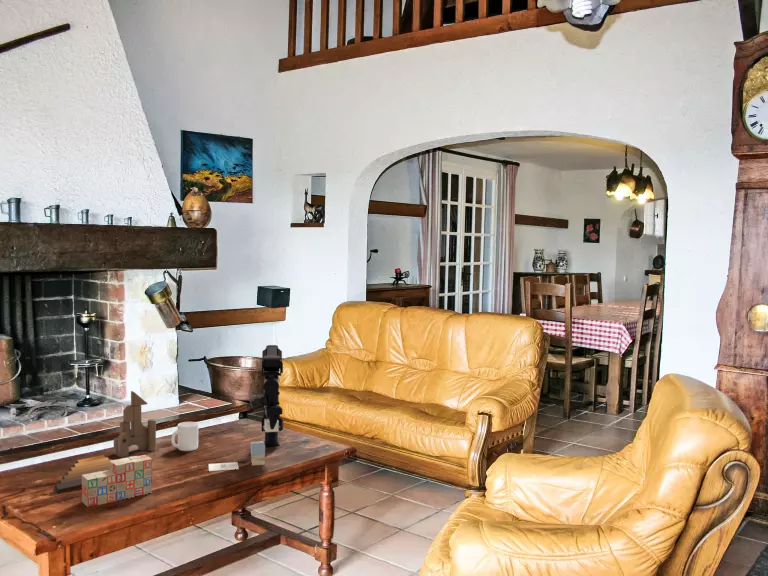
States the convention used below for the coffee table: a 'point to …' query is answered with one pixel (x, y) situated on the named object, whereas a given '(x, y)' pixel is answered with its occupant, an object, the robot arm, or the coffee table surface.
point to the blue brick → (257, 448)
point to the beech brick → (258, 460)
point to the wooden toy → (135, 429)
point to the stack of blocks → (118, 481)
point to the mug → (186, 436)
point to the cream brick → (267, 426)
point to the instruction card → (223, 466)
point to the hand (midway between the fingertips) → (271, 427)
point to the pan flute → (82, 472)
